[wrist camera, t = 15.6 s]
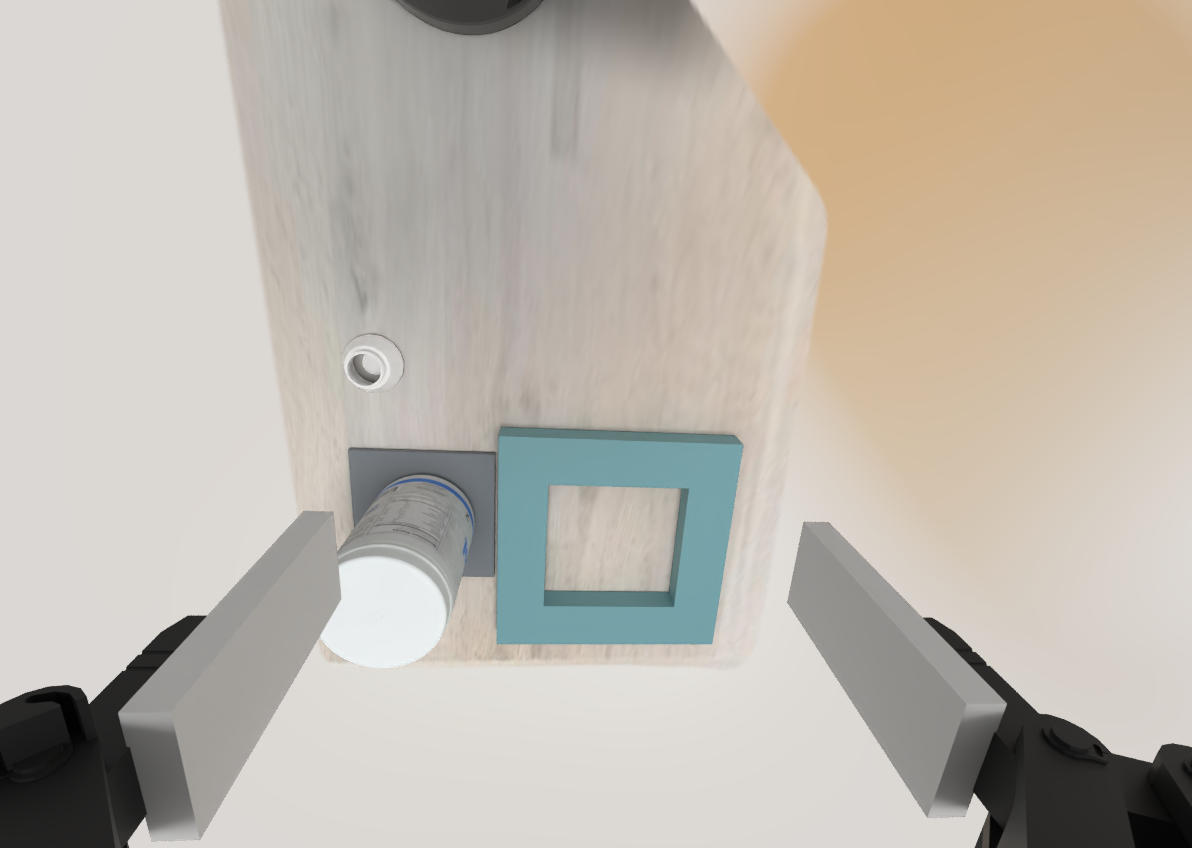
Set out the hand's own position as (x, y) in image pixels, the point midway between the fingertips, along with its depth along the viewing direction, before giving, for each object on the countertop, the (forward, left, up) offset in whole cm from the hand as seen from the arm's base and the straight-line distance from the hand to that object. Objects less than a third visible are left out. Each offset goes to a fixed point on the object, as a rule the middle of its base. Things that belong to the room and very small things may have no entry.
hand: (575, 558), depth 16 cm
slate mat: (+17, -12, -35) cm, 40 cm away
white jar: (+3, -16, -35) cm, 39 cm away
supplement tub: (+17, -12, -34) cm, 40 cm away
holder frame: (+19, +6, -35) cm, 40 cm away
